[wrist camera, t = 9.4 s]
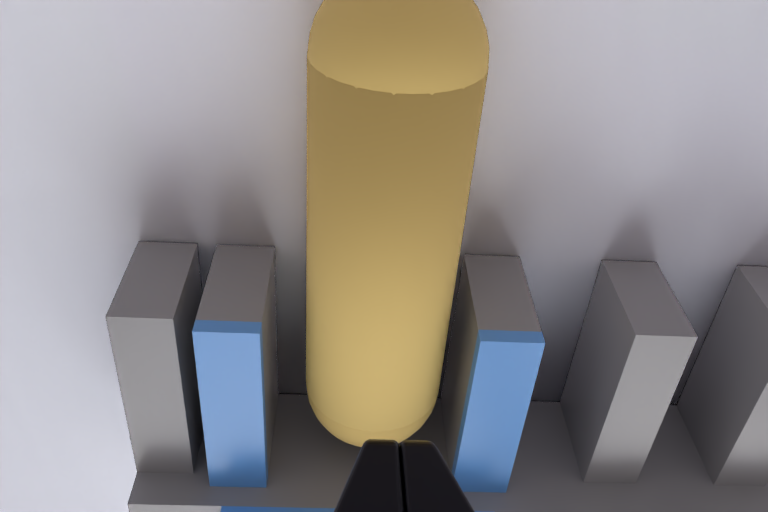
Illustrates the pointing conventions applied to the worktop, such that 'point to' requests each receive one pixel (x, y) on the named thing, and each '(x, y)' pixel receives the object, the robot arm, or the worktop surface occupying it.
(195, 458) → the slotted dish rack
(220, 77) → the worktop surface
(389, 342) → the yellow rounded cylinder
